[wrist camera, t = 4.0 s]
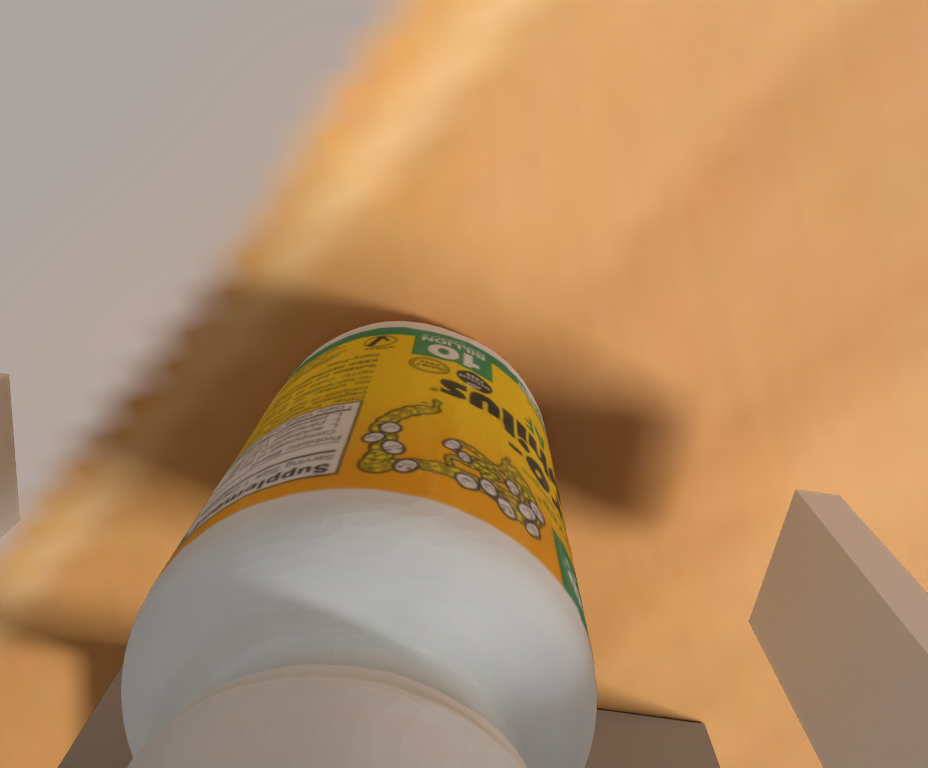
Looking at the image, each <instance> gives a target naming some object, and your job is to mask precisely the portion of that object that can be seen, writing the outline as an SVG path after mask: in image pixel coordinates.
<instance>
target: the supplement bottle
mask: <svg viewBox="0 0 928 768" xmlns="http://www.w3.org/2000/svg"><path fill="white" fill-rule="evenodd" d="M121 701H122V713H123V722H124V727H125V731H126V736H127V740H128V743H129V746H130V750H131V753H132V756H133V759H132V760H131V762H130V764H129V765H128V767H127V768H584V767H585V764H586V761H587V759H588V756H589V752H590V749H591V745H592V741H593V736H594V731H595V722H596V713H597V688H596V679H595V670H594V662H593V655H592V649H591V645H590V640H589V636H588V631H587V626H586V621H585V617H584V611H583V606H582V600H581V596H580V592H579V588H578V583H577V578H576V574H575V569H574V564H573V559H572V554H571V549H570V545H569V541H568V537H567V534H566V527H565V521H564V516H563V510H562V506H561V502H560V496H559V493H558V488H557V482H556V477H555V473H554V467H553V463H552V458H551V453H550V448H549V442H548V438H547V434H546V429H545V425H544V421H543V418H542V415H541V412H540V410H539V407H538V405H537V403H536V401H535V399H534V397H533V396H532V394H531V392H530V390H529V389H528V387H527V385H526V384H525V382H524V381H523V380H522V378H521V377H520V376H519V375H518V374H517V372H516V371H515V370H514V369H513V368H512V367H511V365H510V364H509V363H508V362H507V361H506V360H504V359H503V358H502V357H500V356H499V355H498V354H497V353H495V352H494V351H493V350H492V349H490V348H488V347H486V346H485V345H483V344H481V343H479V342H477V341H475V340H472V339H470V338H468V337H465V336H463V335H460V334H458V333H455V332H453V331H450V330H447V329H444V328H441V327H438V326H433V325H429V324H426V323H419V322H408V321H387V322H380V323H374V324H370V325H366V326H362V327H359V328H356V329H353V330H351V331H348V332H346V333H343V334H341V335H339V336H338V337H336V338H334V339H332V340H331V341H329V342H327V343H325V344H324V345H322V346H321V347H320V348H318V349H317V350H316V351H314V352H313V353H312V354H311V355H309V356H308V357H307V358H306V359H305V360H304V361H303V362H302V363H301V364H300V365H299V367H298V368H297V369H296V370H295V371H294V372H293V373H292V375H291V376H290V377H289V379H288V380H287V381H286V383H285V384H284V385H283V387H282V388H281V389H280V391H279V392H278V394H277V395H276V396H275V398H274V399H273V401H272V402H271V404H270V406H269V407H268V409H267V411H266V412H265V413H264V415H263V417H262V418H261V420H260V421H259V423H258V425H257V426H256V428H255V429H254V431H253V432H252V434H251V435H250V437H249V438H248V440H247V442H246V443H245V445H244V446H243V448H242V449H241V451H240V452H239V454H238V455H237V457H236V459H235V460H234V462H233V463H232V465H231V467H230V468H229V469H228V471H227V472H226V474H225V475H224V477H223V478H222V479H221V481H220V482H219V484H218V485H217V487H216V488H215V490H214V492H213V493H212V495H211V497H210V498H209V500H208V501H207V503H206V504H205V506H204V507H203V509H202V510H201V512H200V513H199V515H198V516H197V518H196V519H195V521H194V523H193V524H192V526H191V527H190V529H189V530H188V532H187V533H186V535H185V536H184V538H183V539H182V541H181V542H180V544H179V546H178V547H177V549H176V550H175V552H174V553H173V555H172V556H171V558H170V560H169V561H168V563H167V564H166V566H165V567H164V569H163V570H162V572H161V574H160V575H159V577H158V578H157V580H156V581H155V583H154V584H153V586H152V587H151V589H150V591H149V593H148V595H147V597H146V599H145V601H144V603H143V605H142V607H141V609H140V611H139V613H138V615H137V617H136V619H135V621H134V624H133V627H132V630H131V633H130V636H129V640H128V644H127V647H126V651H125V657H124V663H123V669H122V681H121Z"/></svg>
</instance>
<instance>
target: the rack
mask: <svg viewBox="0 0 928 768" xmlns="http://www.w3.org/2000/svg"><path fill="white" fill-rule="evenodd" d="M122 669H123V665H122V667H121V668H120V670H119V671H118V673H117V675H116V676H115V678H114V679H113V681H112V683H111V684H110V686H109V687H108V689H107V690H106V692H105V694H104V695H103V697H102V698H101V700H100V702H99V703H98V705H97V706H96V708H95V709H94V711H93V713H92V714H91V716H90V717H89V719H88V721H87V722H86V724H85V725H84V727H83V728H82V730H81V732H80V733H79V735H78V736H77V738H76V740H75V741H74V743H73V744H72V746H71V747H70V749H69V751H68V752H67V754H66V755H65V757H64V759H63V760H62V762H61V763H60V765H59V766H58V768H127V767H128V765H129V764H130V762H131V760H132V759H133V756H132V753H131V750H130V746H129V743H128V740H127V736H126V731H125V727H124V722H123V713H122V701H121V681H122ZM584 768H720V766H719V763H718V761H717V758H716V755H715V752H714V749H713V747H712V744H711V741H710V738H709V735H708V733H707V730H706V727H705V724H702V723H695V722H687V721H680V720H672V719H665V718H657V717H650V716H643V715H635V714H628V713H620V712H613V711H605V710H598V709H597V713H596V722H595V731H594V736H593V741H592V745H591V749H590V752H589V756H588V759H587V761H586V764H585V767H584Z"/></svg>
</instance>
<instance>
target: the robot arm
mask: <svg viewBox="0 0 928 768" xmlns="http://www.w3.org/2000/svg"><path fill="white" fill-rule="evenodd" d="M19 520H20V517H19V504H18V490H17V477H16V463H15V450H14V437H13V423H12V409H11V396H10V382H9V375H8V374H1V373H0V538H1V537H2V536H3V535H4V534H5V533H6V532H7V531H8V530H10V529H11V528H12V527H13V526H14V525H15V524H16V523H17V522H18V521H19ZM749 623H750V625H751V627H752V629H753V631H754V633H755V635H756V637H757V639H758V641H759V643H760V644H761V646H762V648H763V650H764V652H765V654H766V656H767V658H768V660H769V662H770V664H771V666H772V668H773V670H774V672H775V674H776V676H777V678H778V680H779V682H780V684H781V686H782V687H783V689H784V691H785V693H786V695H787V697H788V699H789V701H790V703H791V705H792V707H793V709H794V711H795V713H796V715H797V717H798V719H799V721H800V723H801V725H802V727H803V729H804V731H805V732H806V734H807V736H808V738H809V740H810V742H811V744H812V746H813V748H814V750H815V752H816V754H817V756H818V758H819V760H820V762H821V764H822V766H823V768H928V593H927V592H926V591H925V590H924V589H923V588H922V587H921V585H920V584H919V583H918V582H917V581H916V580H915V579H914V578H913V577H912V575H911V574H910V573H909V572H908V571H907V570H906V569H905V568H904V567H903V565H902V564H901V563H900V562H899V561H898V560H897V559H896V558H895V557H894V555H893V554H892V553H891V552H890V551H889V550H888V549H887V548H886V547H885V545H884V544H883V543H882V542H881V541H880V540H879V539H878V538H877V537H876V535H875V534H874V533H873V532H872V531H871V530H870V529H869V528H868V527H867V525H866V524H865V523H864V522H863V521H862V520H861V519H860V518H859V517H858V516H857V514H856V513H855V512H854V511H853V510H852V509H851V508H850V507H849V506H848V504H847V503H846V502H845V501H844V500H843V499H842V498H841V497H840V496H838V495H831V494H824V493H817V492H810V491H803V490H797V489H796V490H795V492H794V495H793V498H792V501H791V504H790V507H789V509H788V512H787V515H786V518H785V521H784V524H783V526H782V529H781V532H780V535H779V538H778V541H777V543H776V546H775V549H774V552H773V555H772V557H771V560H770V563H769V566H768V569H767V572H766V574H765V577H764V580H763V583H762V586H761V589H760V591H759V594H758V597H757V600H756V603H755V606H754V608H753V611H752V614H751V617H750V620H749Z"/></svg>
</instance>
